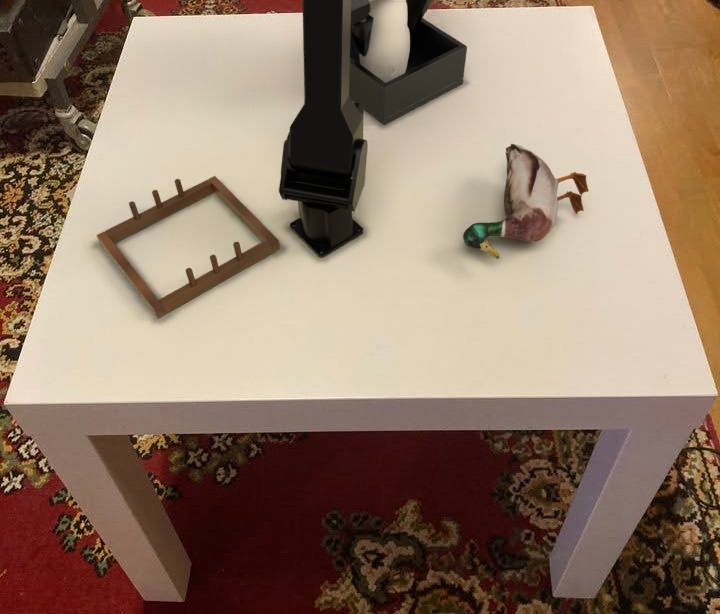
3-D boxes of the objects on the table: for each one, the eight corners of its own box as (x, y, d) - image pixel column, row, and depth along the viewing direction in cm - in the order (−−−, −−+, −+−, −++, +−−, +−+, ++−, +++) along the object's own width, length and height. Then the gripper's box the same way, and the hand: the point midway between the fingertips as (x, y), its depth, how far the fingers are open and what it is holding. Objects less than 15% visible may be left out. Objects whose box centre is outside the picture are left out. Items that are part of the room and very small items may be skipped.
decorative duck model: (479, 243, 75) (424, 150, 83) (476, 284, 81) (425, 194, 89) (608, 199, 77) (542, 111, 85) (595, 242, 83) (535, 157, 91)
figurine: (410, 56, 104) (413, -24, 95) (407, 87, 100) (409, 6, 90) (361, 54, 105) (359, -26, 95) (356, 85, 100) (353, 4, 91)
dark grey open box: (462, 84, 102) (467, 46, 97) (384, 125, 97) (384, 87, 92) (388, 33, 110) (389, -4, 105) (311, 69, 105) (308, 31, 100)
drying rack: (280, 249, 83) (276, 225, 80) (158, 318, 77) (149, 296, 74) (217, 184, 90) (211, 160, 87) (100, 244, 84) (89, 220, 81)
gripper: (404, -116, 94) (400, -3, 106) (287, -74, 87) (298, 42, 99) (462, -87, 89) (451, 29, 101) (343, -39, 82) (347, 79, 94)
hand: (386, 43), depth 99 cm, fingers closed on figurine, 8 cm apart
